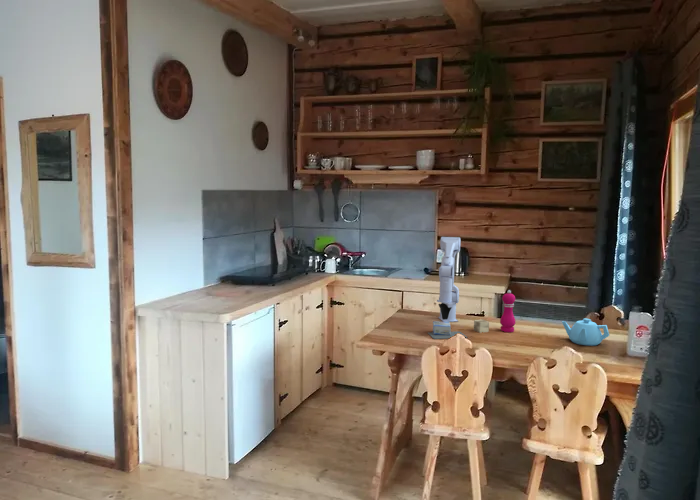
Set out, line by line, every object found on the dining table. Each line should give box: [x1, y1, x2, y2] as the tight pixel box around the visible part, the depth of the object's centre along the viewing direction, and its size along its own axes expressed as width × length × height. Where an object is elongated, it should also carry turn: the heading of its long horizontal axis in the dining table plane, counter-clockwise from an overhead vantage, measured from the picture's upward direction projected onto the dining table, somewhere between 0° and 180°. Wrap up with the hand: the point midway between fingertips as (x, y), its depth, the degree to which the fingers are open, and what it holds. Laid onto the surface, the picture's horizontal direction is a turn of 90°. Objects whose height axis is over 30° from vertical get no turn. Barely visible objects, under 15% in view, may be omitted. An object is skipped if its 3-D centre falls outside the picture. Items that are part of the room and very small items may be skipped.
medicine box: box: [432, 320, 452, 335], centre depth 260 cm, size 8×4×9 cm
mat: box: [427, 330, 468, 340], centre depth 257 cm, size 10×16×1 cm, turn 98°
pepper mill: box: [499, 289, 516, 333], centre depth 265 cm, size 7×7×20 cm
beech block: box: [473, 319, 490, 334], centre depth 265 cm, size 5×5×5 cm
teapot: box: [561, 317, 610, 347], centre depth 247 cm, size 15×15×11 cm
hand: (444, 319), depth 260 cm, fingers closed
